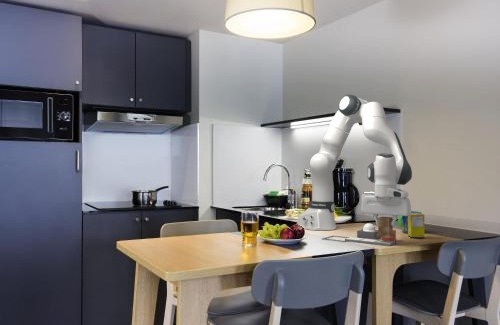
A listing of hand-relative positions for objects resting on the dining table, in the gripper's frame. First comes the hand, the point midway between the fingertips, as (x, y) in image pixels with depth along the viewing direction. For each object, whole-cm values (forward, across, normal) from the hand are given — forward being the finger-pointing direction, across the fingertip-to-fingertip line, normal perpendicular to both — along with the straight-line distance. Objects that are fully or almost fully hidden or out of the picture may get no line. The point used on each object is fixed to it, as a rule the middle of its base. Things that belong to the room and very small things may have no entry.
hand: (385, 225), depth 189 cm
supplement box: (+8, +5, +26) cm, 27 cm away
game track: (+8, -6, 0) cm, 10 cm away
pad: (+8, -21, 0) cm, 22 cm away
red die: (+8, -2, +10) cm, 13 cm away
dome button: (+6, -11, +10) cm, 16 cm away
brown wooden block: (+5, 0, 0) cm, 5 cm away
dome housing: (+8, -11, +10) cm, 16 cm away
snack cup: (+8, -2, +41) cm, 42 cm away
